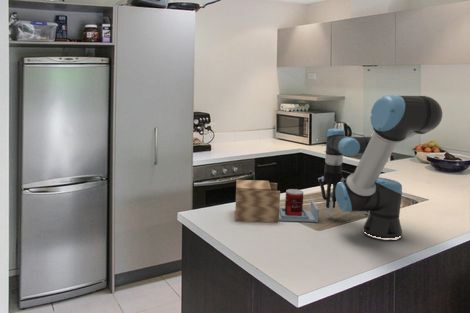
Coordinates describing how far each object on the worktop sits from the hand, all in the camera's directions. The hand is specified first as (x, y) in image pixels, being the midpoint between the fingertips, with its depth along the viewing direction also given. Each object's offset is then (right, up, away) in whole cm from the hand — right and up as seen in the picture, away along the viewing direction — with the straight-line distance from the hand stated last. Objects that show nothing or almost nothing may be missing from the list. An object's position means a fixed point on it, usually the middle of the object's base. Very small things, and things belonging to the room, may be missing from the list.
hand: (329, 214), depth 192 cm
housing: (-33, -1, 0) cm, 33 cm away
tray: (-16, -1, 0) cm, 16 cm away
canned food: (-17, 0, 0) cm, 17 cm away
